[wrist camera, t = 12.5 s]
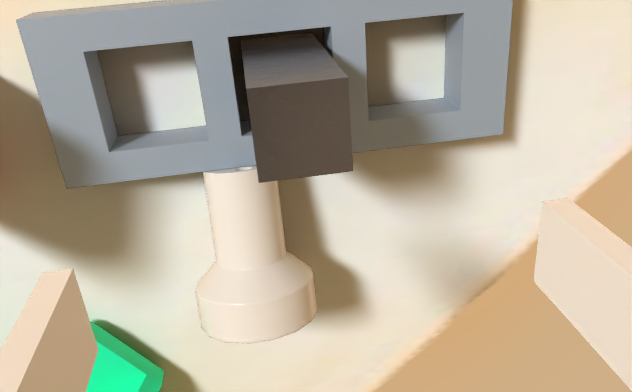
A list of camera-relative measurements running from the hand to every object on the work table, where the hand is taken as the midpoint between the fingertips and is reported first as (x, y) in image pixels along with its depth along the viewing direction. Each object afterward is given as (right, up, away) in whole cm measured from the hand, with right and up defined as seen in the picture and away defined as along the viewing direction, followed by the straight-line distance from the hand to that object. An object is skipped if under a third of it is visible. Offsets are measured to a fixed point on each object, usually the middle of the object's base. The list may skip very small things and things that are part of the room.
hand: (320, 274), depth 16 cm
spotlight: (-5, 0, +25) cm, 26 cm away
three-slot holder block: (-2, +10, +20) cm, 23 cm away
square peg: (-2, +10, +20) cm, 23 cm away
